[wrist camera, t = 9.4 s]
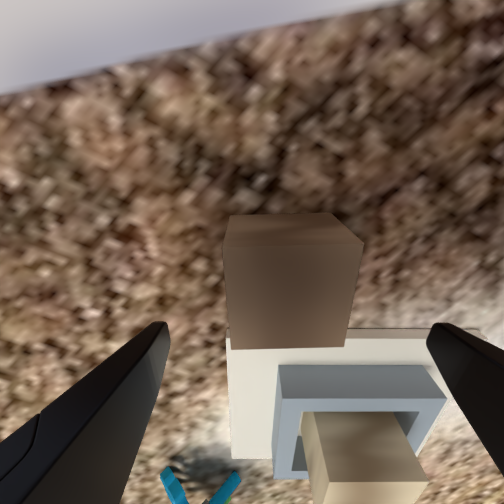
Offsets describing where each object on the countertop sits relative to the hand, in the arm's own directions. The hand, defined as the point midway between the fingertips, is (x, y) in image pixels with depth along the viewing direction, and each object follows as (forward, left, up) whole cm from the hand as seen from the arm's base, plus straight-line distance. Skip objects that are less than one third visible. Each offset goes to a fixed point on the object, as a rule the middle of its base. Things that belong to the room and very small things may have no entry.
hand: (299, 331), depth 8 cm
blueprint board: (-5, +12, -5) cm, 14 cm away
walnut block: (0, 0, -6) cm, 6 cm away
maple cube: (-5, +12, -4) cm, 14 cm away
